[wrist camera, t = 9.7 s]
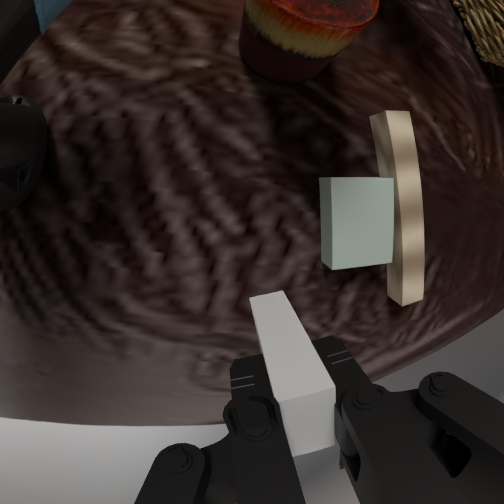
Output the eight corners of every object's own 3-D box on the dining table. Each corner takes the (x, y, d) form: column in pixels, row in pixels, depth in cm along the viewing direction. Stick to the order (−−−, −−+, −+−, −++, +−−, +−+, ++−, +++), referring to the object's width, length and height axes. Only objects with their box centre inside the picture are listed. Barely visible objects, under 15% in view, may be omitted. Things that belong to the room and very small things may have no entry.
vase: (293, 6, 26) (347, -97, 6) (342, 65, 28) (442, -12, 9) (221, 34, 26) (225, -89, 6) (271, 99, 29) (338, 1, 9)
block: (318, 177, 32) (330, 177, 28) (376, 177, 33) (393, 177, 29) (320, 260, 34) (332, 269, 30) (376, 254, 35) (391, 262, 31)
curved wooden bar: (369, 116, 30) (385, 110, 26) (391, 116, 30) (409, 111, 27) (387, 295, 36) (402, 306, 32) (407, 288, 36) (422, 299, 33)
